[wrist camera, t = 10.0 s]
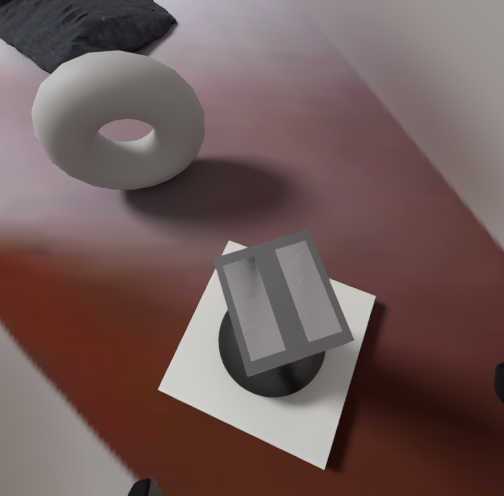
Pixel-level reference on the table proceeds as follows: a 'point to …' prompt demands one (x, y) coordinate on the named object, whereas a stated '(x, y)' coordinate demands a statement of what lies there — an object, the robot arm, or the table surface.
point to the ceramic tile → (258, 407)
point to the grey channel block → (278, 315)
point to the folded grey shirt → (79, 27)
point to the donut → (115, 108)
